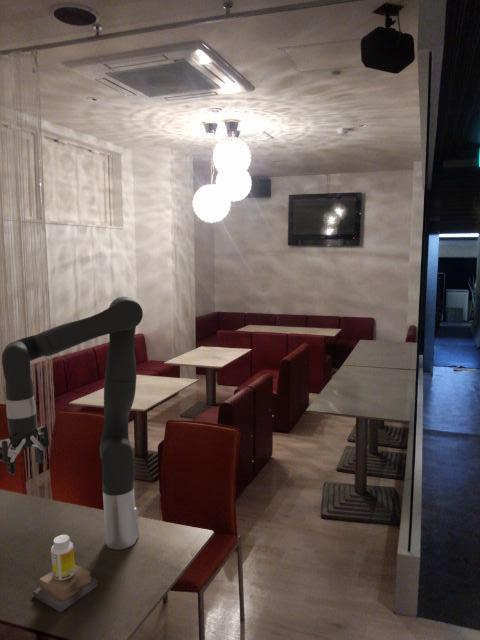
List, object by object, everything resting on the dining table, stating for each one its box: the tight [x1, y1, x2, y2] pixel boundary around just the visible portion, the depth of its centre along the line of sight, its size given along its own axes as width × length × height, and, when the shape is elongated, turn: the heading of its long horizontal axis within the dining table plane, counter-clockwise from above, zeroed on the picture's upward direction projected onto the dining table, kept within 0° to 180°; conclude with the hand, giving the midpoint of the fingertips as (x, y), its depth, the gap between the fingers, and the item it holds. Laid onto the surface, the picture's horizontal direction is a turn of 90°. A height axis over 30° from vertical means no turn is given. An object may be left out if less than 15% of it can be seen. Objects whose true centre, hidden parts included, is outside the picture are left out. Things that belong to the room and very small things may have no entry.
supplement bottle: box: [50, 534, 76, 580], centre depth 134 cm, size 6×6×10 cm
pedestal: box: [32, 564, 99, 613], centre depth 134 cm, size 12×11×4 cm
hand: (26, 468), depth 145 cm, fingers open, 8 cm apart
